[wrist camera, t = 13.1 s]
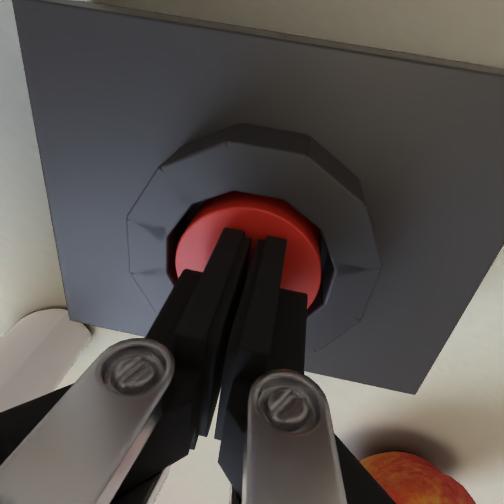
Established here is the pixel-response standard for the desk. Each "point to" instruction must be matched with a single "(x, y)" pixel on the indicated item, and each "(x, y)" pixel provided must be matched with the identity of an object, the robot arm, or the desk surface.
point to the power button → (255, 237)
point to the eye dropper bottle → (38, 355)
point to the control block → (268, 170)
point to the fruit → (414, 480)
